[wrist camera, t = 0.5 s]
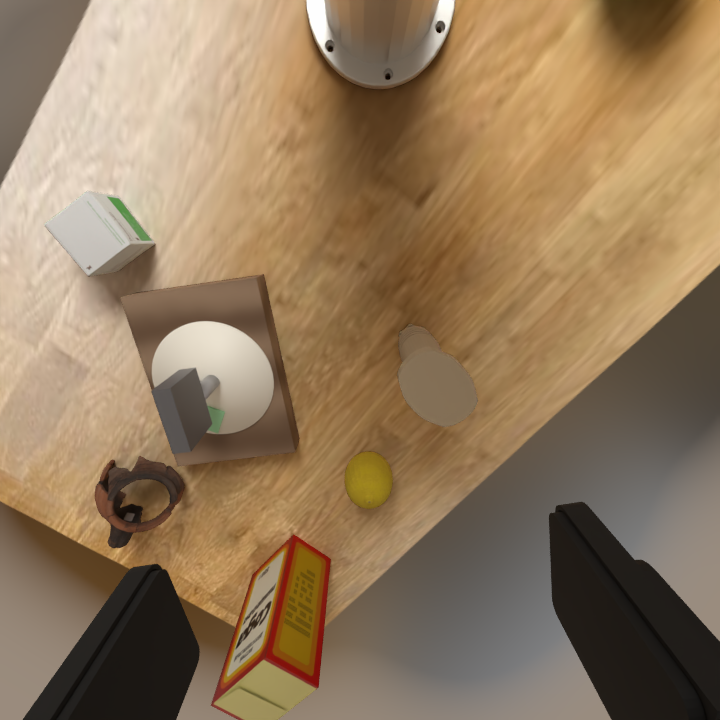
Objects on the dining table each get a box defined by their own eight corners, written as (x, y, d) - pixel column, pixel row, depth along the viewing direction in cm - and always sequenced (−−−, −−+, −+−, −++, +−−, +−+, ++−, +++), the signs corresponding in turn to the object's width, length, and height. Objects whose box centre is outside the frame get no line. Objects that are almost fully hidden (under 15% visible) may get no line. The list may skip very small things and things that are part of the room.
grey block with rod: (148, 362, 39) (90, 398, 31) (211, 354, 39) (170, 388, 31) (166, 413, 41) (115, 460, 33) (226, 406, 41) (190, 451, 33)
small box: (158, 243, 39) (131, 245, 34) (117, 273, 40) (86, 279, 35) (119, 192, 38) (85, 187, 33) (78, 225, 39) (39, 224, 34)
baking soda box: (293, 534, 51) (264, 661, 36) (330, 559, 52) (318, 691, 37) (252, 574, 53) (209, 709, 38) (289, 597, 55) (261, 736, 40)
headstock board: (136, 292, 41) (119, 297, 38) (263, 274, 40) (256, 277, 37) (189, 452, 47) (177, 466, 44) (299, 438, 46) (295, 452, 43)
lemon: (345, 476, 48) (342, 522, 40) (346, 438, 46) (343, 479, 39) (388, 478, 48) (393, 524, 41) (391, 440, 46) (397, 480, 39)
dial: (136, 330, 39) (133, 331, 38) (259, 313, 38) (258, 313, 38) (173, 439, 43) (171, 441, 43) (284, 426, 42) (284, 427, 42)
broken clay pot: (108, 436, 47) (103, 464, 40) (188, 443, 52) (196, 469, 45) (84, 526, 48) (75, 569, 41) (166, 524, 53) (171, 562, 46)
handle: (414, 370, 43) (440, 437, 29) (377, 330, 42) (385, 381, 28) (447, 343, 42) (490, 399, 28) (410, 301, 41) (436, 338, 27)
